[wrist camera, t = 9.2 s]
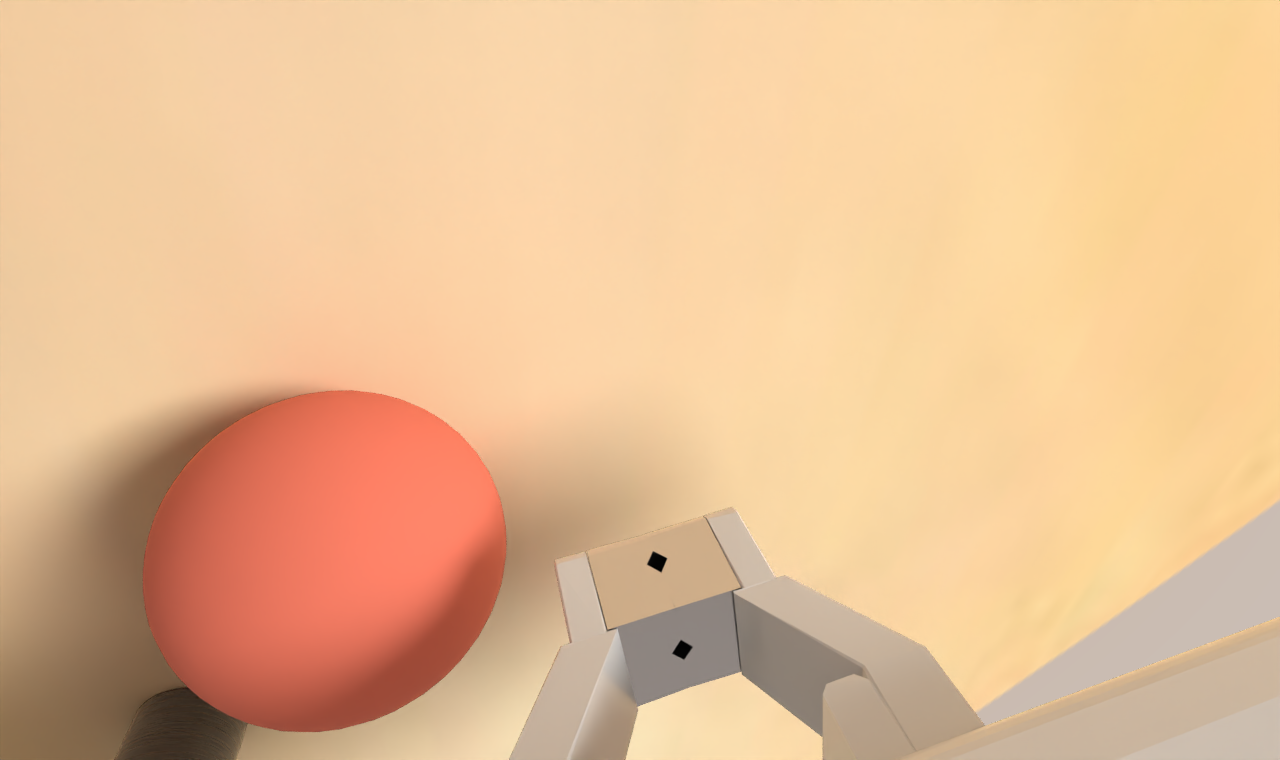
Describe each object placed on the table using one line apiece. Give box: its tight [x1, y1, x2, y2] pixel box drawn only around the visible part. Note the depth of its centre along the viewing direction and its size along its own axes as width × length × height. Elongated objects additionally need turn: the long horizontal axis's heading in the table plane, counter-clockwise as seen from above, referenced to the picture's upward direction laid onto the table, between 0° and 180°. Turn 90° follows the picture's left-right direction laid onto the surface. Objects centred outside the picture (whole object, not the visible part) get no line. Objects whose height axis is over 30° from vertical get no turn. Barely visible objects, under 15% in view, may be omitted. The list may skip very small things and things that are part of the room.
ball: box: [143, 391, 506, 732], centre depth 12 cm, size 6×6×6 cm
